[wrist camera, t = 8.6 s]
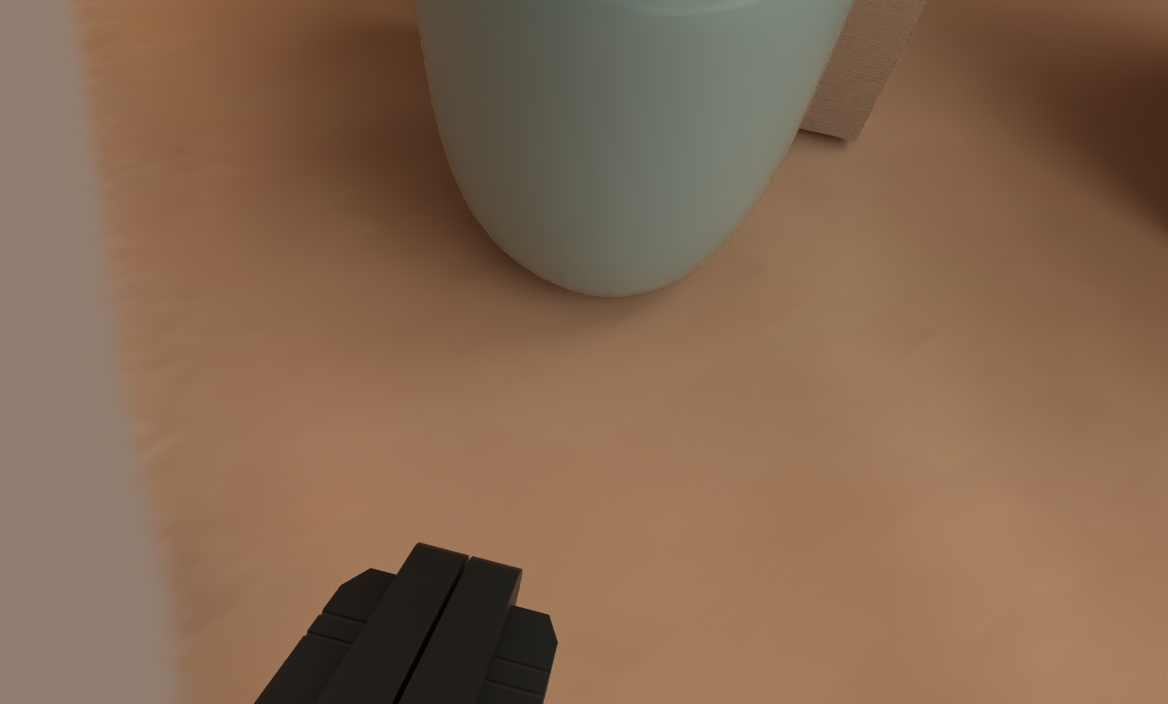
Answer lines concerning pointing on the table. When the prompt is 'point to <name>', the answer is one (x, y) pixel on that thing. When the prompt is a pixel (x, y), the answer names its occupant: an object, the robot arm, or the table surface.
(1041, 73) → the table surface
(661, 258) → the cup
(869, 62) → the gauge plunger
